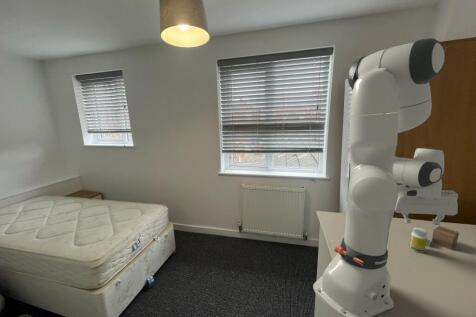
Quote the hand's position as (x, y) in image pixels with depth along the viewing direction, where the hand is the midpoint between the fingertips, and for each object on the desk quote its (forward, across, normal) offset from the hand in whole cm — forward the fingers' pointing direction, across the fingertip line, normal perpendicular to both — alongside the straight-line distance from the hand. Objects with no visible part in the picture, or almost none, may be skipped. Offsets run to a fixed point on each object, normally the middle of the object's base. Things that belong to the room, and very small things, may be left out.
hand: (421, 223), depth 81 cm
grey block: (+11, -4, -5) cm, 13 cm away
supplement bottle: (+11, +1, 0) cm, 11 cm away
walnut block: (+11, -12, -6) cm, 18 cm away
